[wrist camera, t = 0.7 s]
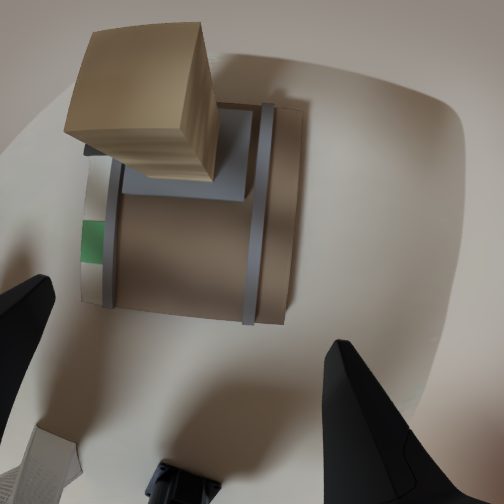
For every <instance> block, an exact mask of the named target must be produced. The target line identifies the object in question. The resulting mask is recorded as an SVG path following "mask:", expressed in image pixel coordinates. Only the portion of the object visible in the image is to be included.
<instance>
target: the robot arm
mask: <svg viewBox="0 0 504 504" xmlns="http://www.w3.org/2000/svg"><path fill="white" fill-rule="evenodd" d="M55 298H56V297H55V292H54V288H53V285H52V281H51V279H50V277H48V276H46V275H43V274H38V275H36V276H34V277H32V278H30V279H28V280H26V281H25V282H23V283H21V284H19V285H17V286H15V287H14V288H12V289H10V290H8V291H6V292H5V293H3V294H1V295H0V444H1V440H2V437H3V433H4V430H5V427H6V424H7V421H8V418H9V415H10V412H11V409H12V407H13V404H14V401H15V398H16V396H17V393H18V391H19V388H20V386H21V383H22V381H23V378H24V376H25V373H26V371H27V369H28V366H29V364H30V362H31V359H32V357H33V355H34V353H35V351H36V348H37V346H38V344H39V342H40V339H41V337H42V334H43V331H44V329H45V326H46V323H47V321H48V318H49V316H50V313H51V310H52V308H53V305H54V303H55ZM322 425H323V457H324V504H490V503H487V502H484V501H481V500H478V499H475V498H473V497H470V496H467V495H465V494H464V493H462V492H461V491H459V490H458V489H457V488H456V487H455V486H454V485H453V484H452V482H451V481H450V480H449V479H448V477H447V476H446V475H445V474H444V473H443V472H442V470H441V469H440V468H439V467H438V465H437V464H436V463H435V462H434V460H433V459H432V458H431V457H430V455H429V454H428V453H427V452H426V450H425V449H424V447H423V446H422V445H421V443H420V442H419V440H418V439H417V438H416V436H415V435H414V433H413V432H412V430H411V429H409V426H408V424H407V423H406V421H405V420H404V418H403V417H402V415H401V414H400V412H399V411H398V410H397V408H396V407H395V405H394V404H393V402H392V401H391V399H390V398H389V396H388V395H387V394H386V392H385V391H384V389H383V388H382V386H381V385H380V383H379V382H378V381H377V379H376V378H375V376H374V375H373V373H372V372H371V371H370V369H369V368H368V366H367V365H366V363H365V362H364V361H363V359H362V358H361V356H360V355H359V353H358V352H357V351H356V349H355V348H354V346H353V345H352V344H351V342H350V341H348V340H341V339H337V340H335V341H334V343H333V345H332V346H331V348H330V350H329V351H328V353H327V355H326V357H325V361H324V378H323V394H322ZM163 467H164V468H163ZM220 489H221V483H219V482H216V481H213V480H210V479H207V478H204V477H201V476H198V475H195V474H192V473H189V472H186V471H184V470H181V469H178V468H175V467H173V466H170V465H168V464H165V463H159V465H158V467H157V469H156V471H155V473H154V475H153V477H152V479H151V481H150V483H149V485H148V487H147V489H146V491H145V495H146V496H148V497H150V498H149V502H148V504H209V503H210V502H211V501H212V500H213V498H214V497H215V496H216V494H217V493H218V492H219V491H220Z"/></svg>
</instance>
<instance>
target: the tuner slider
mask: <svg viewBox="0 0 504 504" xmlns="http://www.w3.org/2000/svg"><path fill="white" fill-rule="evenodd" d="M252 114H253V111H246V110H234V109H219V108H217V104H216V99H215V94H214V89H213V84H212V79H211V73H210V68H209V63H208V58H207V53H206V48H205V43H204V38H203V32H202V27H201V22H181V23H162V24H149V25H139V26H131V27H123V28H116V29H109V30H103V31H98V32H93V34H92V36H91V39H90V42H89V45H88V47H87V50H86V53H85V56H84V58H83V61H82V64H81V67H80V71H79V74H78V77H77V80H76V84H75V87H74V91H73V94H72V98H71V102H70V106H69V110H68V114H67V118H66V123H65V127H64V132H65V133H67V134H68V135H70V136H72V137H74V138H76V139H78V140H80V141H82V142H84V143H86V144H85V148H84V154H83V155H85V156H110V157H112V158H114V159H116V160H118V161H120V162H121V163H123V164H125V172H124V179H123V187H122V193H124V194H129V195H149V196H166V197H182V198H196V199H209V200H222V201H233V202H244V194H245V184H246V173H247V163H248V153H249V143H250V133H251V123H252Z"/></svg>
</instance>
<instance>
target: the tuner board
mask: <svg viewBox="0 0 504 504" xmlns="http://www.w3.org/2000/svg"><path fill="white" fill-rule="evenodd" d="M216 104H217V108H219V109H234V110H246V111H253V114H252V123H251V133H250V143H249V153H248V163H247V173H246V184H245V194H244V202H233V201H222V200H209V199H196V198H182V197H166V196H149V195H129V194H124V193H122V187H123V179H124V172H125V164H123V163H121V162H120V161H118V160H116V159H114V158H112V157H110V156H91V160H90V166H89V173H88V181H87V189H86V198H85V208H84V219H83V226H82V243H81V302H87V303H92V304H98V305H102V307H104V308H110V309H113V308H114V307H120V308H126V309H133V310H140V311H147V312H155V313H162V314H170V315H179V316H187V317H196V318H206V319H216V320H226V321H238V322H242V325H254V323H264V324H279V325H284V320H285V311H286V303H287V294H288V285H289V276H290V267H291V257H292V248H293V237H294V227H295V216H296V205H297V193H298V180H299V167H300V153H301V138H302V122H303V111H298V110H291V109H284V108H276V107H274V104H270V103H262V106H257V105H247V104H234V103H219V102H216Z"/></svg>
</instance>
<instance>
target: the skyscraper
mask: <svg viewBox="0 0 504 504" xmlns="http://www.w3.org/2000/svg"><path fill="white" fill-rule="evenodd" d="M81 474H83V471H81V468H80V464H79V460H78V456H77V452H76V443H73V442H70V441H68V440H65V439H63V438H61V437H58V436H56V435H53V434H51V433H49V432H47V431H44V430H42V429H40V428H38V427H37V426H34V429H33V432H32V434H31V437H30V440H29V442H28V445H27V448H26V451H25V454H24V457H23V460H22V463H21V464H20V465H19V466H18V467H15V468H13V469H11V470H9V471H7V472H5V473H3V474H2V475H0V504H59V501H60V498H61V494H62V491H63V488H64V487H66V486H67V485H68V484H70V483H71V482H72V481H74V480H75V479H76V478H77V477H79V476H80V475H81Z"/></svg>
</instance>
